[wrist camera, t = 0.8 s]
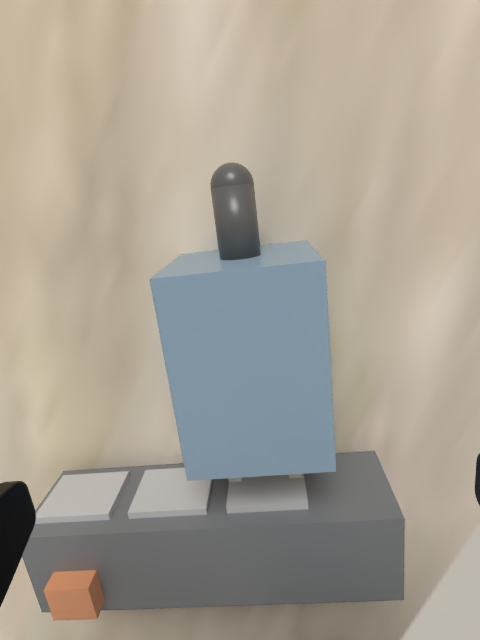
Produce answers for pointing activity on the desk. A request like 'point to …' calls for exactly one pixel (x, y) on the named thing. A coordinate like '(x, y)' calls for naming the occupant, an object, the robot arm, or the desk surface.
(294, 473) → the slate plug
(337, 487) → the power strip
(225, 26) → the desk surface
